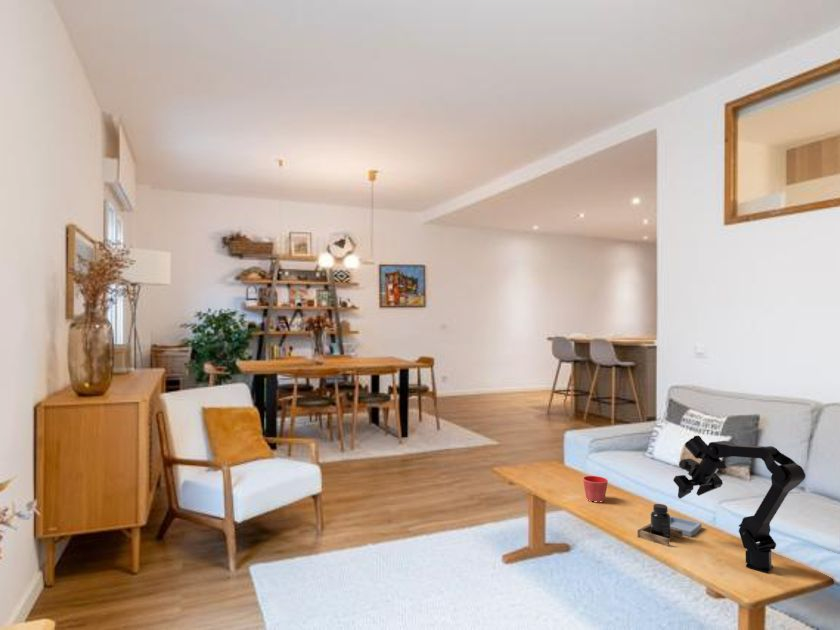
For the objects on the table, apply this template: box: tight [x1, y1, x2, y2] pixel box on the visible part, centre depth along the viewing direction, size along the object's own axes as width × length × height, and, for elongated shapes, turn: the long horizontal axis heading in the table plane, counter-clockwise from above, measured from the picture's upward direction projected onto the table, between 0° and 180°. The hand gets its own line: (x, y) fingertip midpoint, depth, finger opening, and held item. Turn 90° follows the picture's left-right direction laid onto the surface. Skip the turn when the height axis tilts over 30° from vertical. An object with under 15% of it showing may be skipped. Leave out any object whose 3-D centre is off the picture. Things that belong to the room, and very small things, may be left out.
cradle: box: [637, 523, 683, 547], centre depth 203 cm, size 12×12×2 cm
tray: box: [670, 515, 703, 538], centre depth 211 cm, size 12×12×2 cm
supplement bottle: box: [650, 503, 671, 540], centre depth 203 cm, size 7×7×12 cm
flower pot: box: [582, 475, 609, 503], centre depth 246 cm, size 11×11×10 cm
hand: (688, 496), depth 205 cm, fingers open, 9 cm apart
